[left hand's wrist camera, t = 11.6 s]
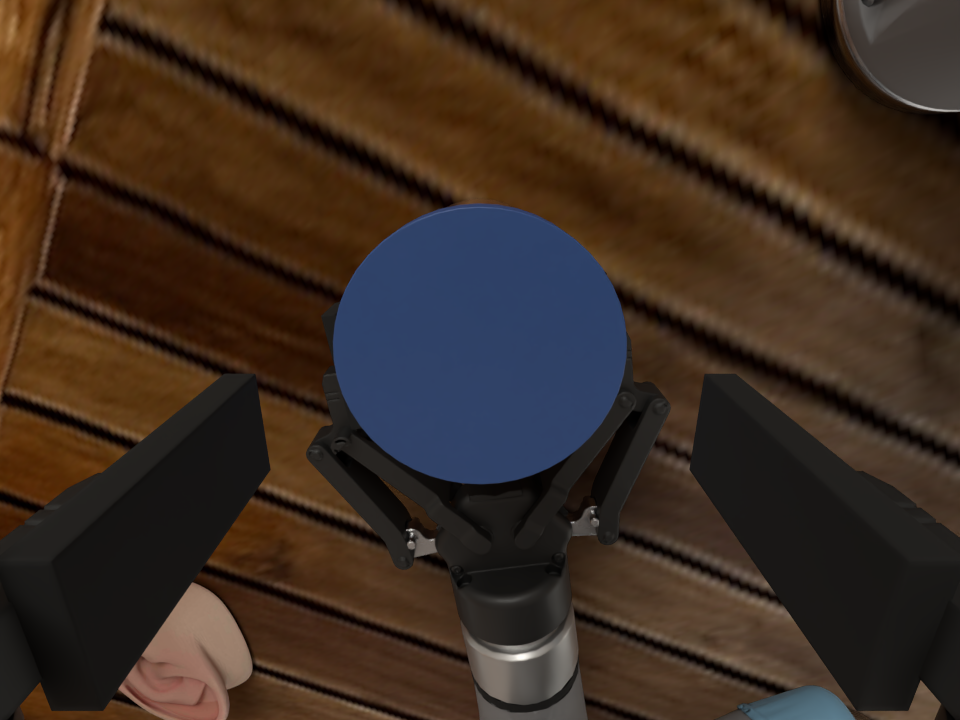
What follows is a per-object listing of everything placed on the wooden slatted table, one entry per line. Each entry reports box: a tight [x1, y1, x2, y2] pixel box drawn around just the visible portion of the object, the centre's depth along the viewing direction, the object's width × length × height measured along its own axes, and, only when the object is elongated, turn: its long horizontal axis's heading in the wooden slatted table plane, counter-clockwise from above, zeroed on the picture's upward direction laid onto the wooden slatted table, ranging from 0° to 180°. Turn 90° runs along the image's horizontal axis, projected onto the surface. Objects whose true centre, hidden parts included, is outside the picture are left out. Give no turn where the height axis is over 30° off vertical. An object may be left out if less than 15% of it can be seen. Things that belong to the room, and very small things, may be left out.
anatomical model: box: [119, 582, 252, 720], centre depth 41 cm, size 13×4×12 cm
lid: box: [333, 203, 627, 484], centre depth 19 cm, size 10×10×2 cm
